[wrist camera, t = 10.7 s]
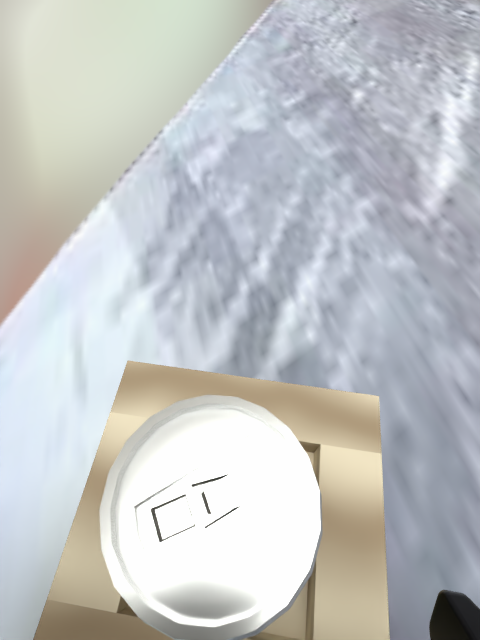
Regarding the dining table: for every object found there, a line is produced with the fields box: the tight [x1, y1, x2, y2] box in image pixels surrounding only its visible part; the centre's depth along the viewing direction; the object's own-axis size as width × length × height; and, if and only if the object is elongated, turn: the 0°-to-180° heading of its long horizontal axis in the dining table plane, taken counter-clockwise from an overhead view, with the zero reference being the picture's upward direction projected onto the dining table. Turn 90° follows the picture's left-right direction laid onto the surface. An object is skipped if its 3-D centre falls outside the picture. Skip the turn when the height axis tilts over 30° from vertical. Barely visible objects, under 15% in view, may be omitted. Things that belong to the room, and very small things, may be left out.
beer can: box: [99, 395, 323, 640], centre depth 13 cm, size 5×5×12 cm
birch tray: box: [33, 361, 390, 640], centre depth 18 cm, size 14×14×4 cm
